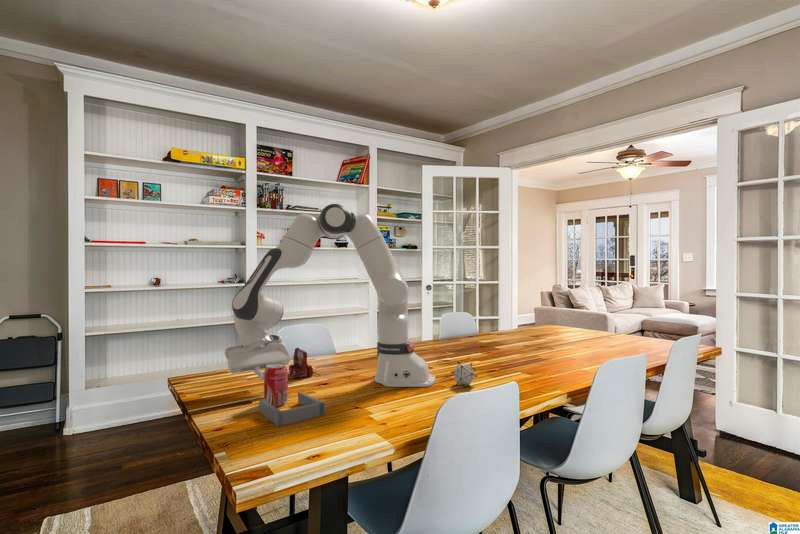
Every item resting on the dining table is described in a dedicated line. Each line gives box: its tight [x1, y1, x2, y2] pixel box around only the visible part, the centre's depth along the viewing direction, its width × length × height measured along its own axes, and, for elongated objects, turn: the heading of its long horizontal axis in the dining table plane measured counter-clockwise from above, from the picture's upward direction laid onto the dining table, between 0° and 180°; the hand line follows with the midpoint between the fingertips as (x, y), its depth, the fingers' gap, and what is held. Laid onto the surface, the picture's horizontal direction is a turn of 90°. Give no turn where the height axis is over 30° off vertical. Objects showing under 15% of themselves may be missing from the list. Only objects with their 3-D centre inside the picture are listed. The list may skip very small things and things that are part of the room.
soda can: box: [263, 363, 289, 407], centre depth 134 cm, size 7×7×12 cm
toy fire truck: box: [288, 347, 314, 379], centre depth 168 cm, size 7×12×10 cm, turn 31°
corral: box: [258, 391, 326, 428], centre depth 126 cm, size 14×15×4 cm
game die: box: [450, 361, 478, 388], centre depth 153 cm, size 9×8×10 cm
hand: (265, 378), depth 141 cm, fingers closed
